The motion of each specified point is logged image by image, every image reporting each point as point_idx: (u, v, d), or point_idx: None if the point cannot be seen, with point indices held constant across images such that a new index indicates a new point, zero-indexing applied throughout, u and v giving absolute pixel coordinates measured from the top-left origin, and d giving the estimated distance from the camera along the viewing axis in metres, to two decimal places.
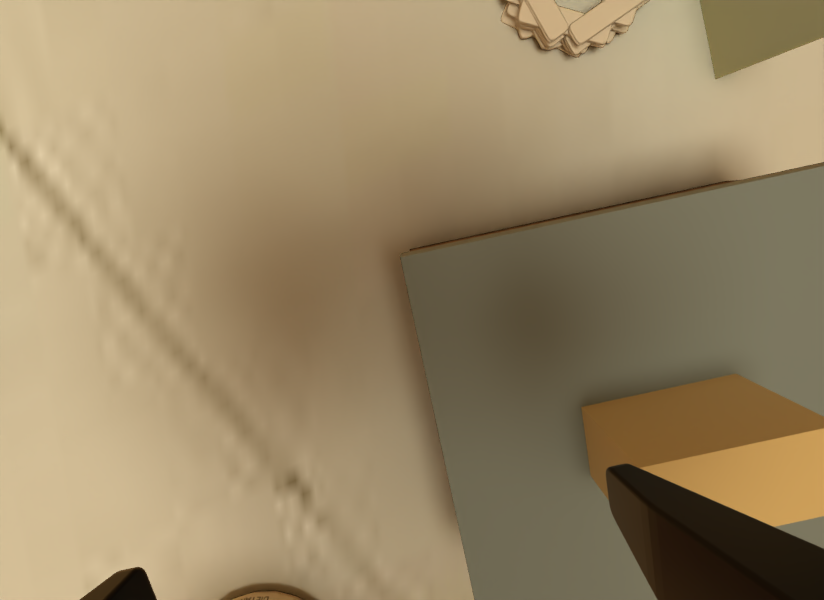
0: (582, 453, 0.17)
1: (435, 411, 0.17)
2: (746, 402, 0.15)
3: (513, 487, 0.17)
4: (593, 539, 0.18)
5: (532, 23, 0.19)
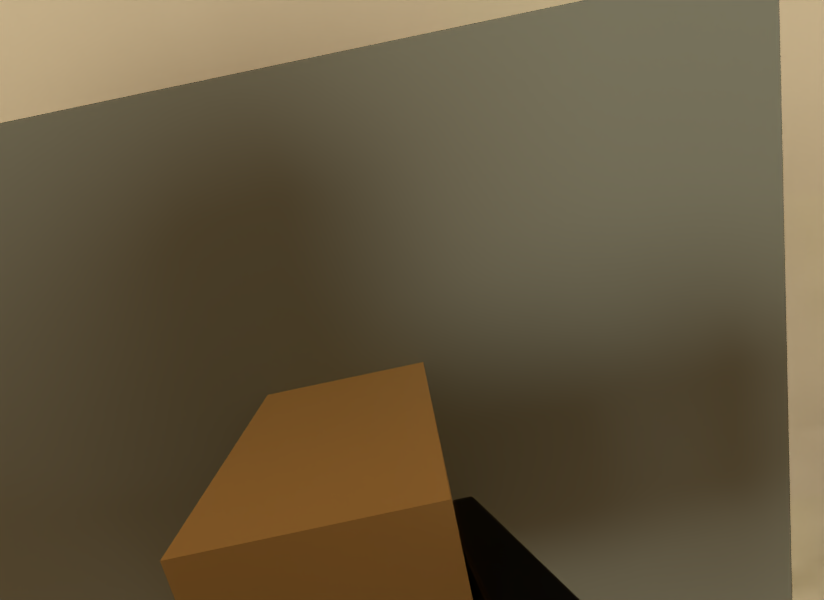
0: None
1: None
2: None
3: None
4: (609, 597, 0.10)
5: None
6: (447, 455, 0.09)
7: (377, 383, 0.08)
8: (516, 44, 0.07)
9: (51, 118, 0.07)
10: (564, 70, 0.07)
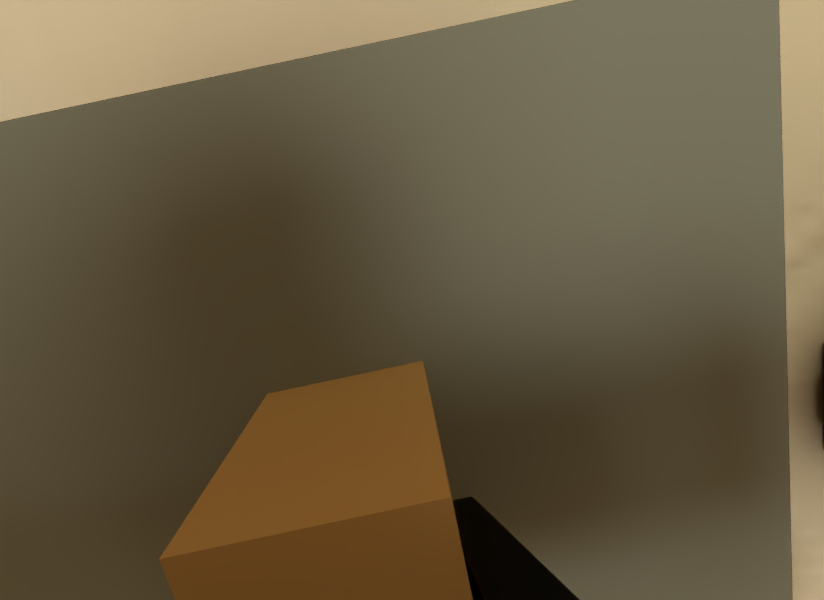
0: None
1: None
2: None
3: None
4: (609, 596, 0.10)
5: None
6: (447, 453, 0.09)
7: (377, 382, 0.08)
8: (515, 42, 0.07)
9: (50, 117, 0.07)
10: (564, 68, 0.07)
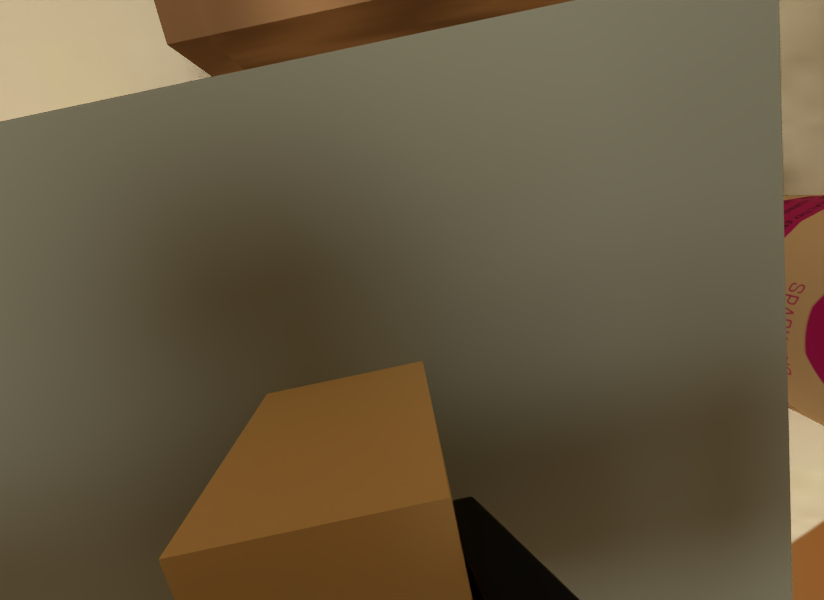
0: None
1: None
2: None
3: None
4: (609, 597, 0.10)
5: None
6: (447, 454, 0.09)
7: (376, 382, 0.08)
8: (515, 42, 0.07)
9: (50, 117, 0.07)
10: (564, 68, 0.07)
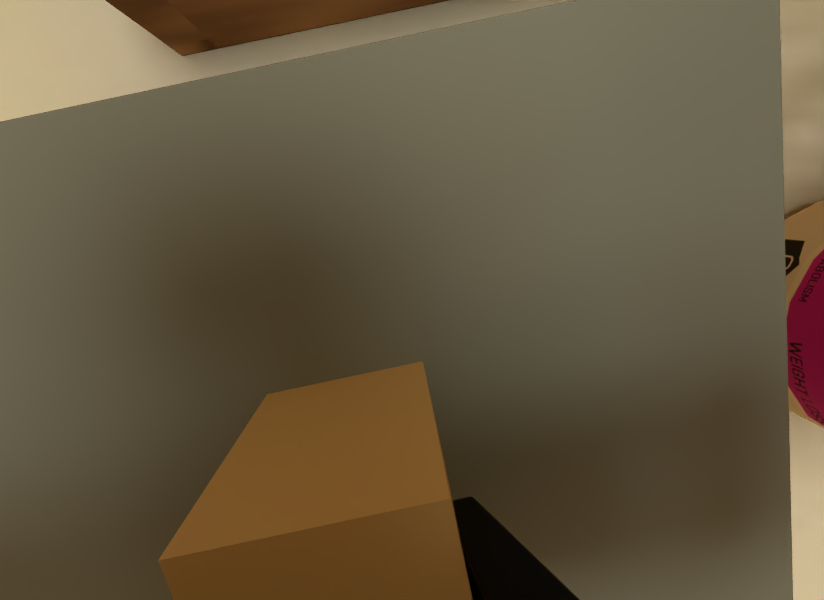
0: None
1: None
2: None
3: None
4: (609, 597, 0.10)
5: None
6: (447, 454, 0.09)
7: (377, 382, 0.08)
8: (516, 42, 0.07)
9: (50, 117, 0.07)
10: (564, 68, 0.07)
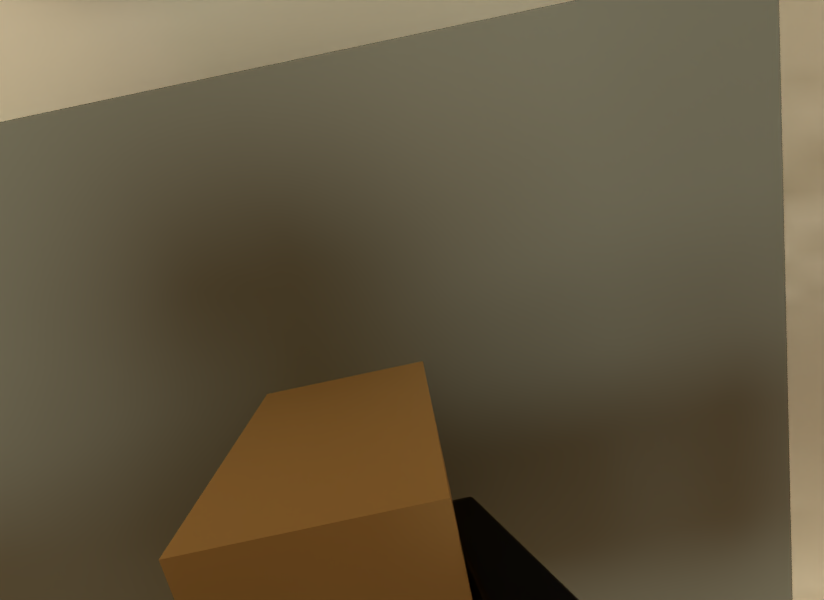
0: None
1: None
2: None
3: None
4: (609, 597, 0.10)
5: None
6: (447, 454, 0.09)
7: (376, 382, 0.08)
8: (515, 42, 0.07)
9: (50, 117, 0.07)
10: (564, 68, 0.07)
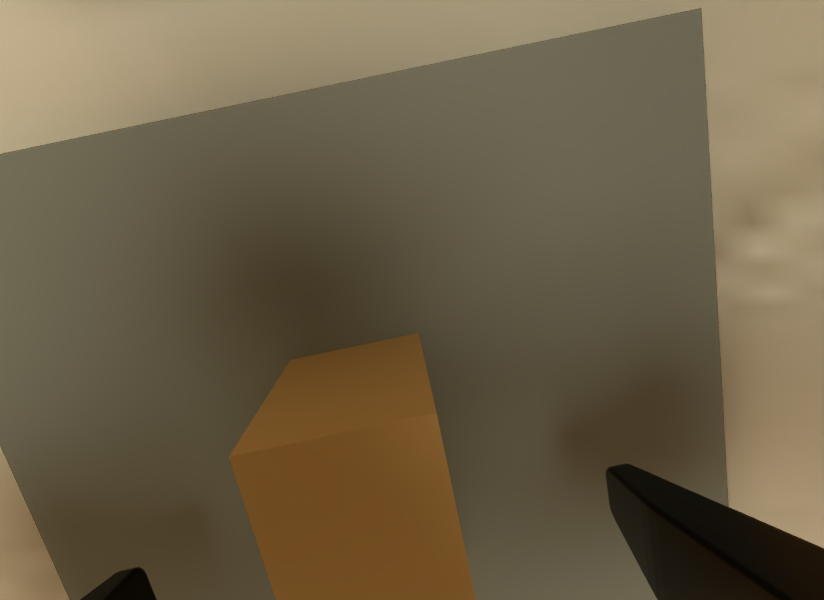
0: None
1: None
2: None
3: None
4: (575, 534, 0.12)
5: None
6: (438, 411, 0.11)
7: (381, 348, 0.10)
8: (492, 75, 0.09)
9: (120, 133, 0.09)
10: (531, 95, 0.09)
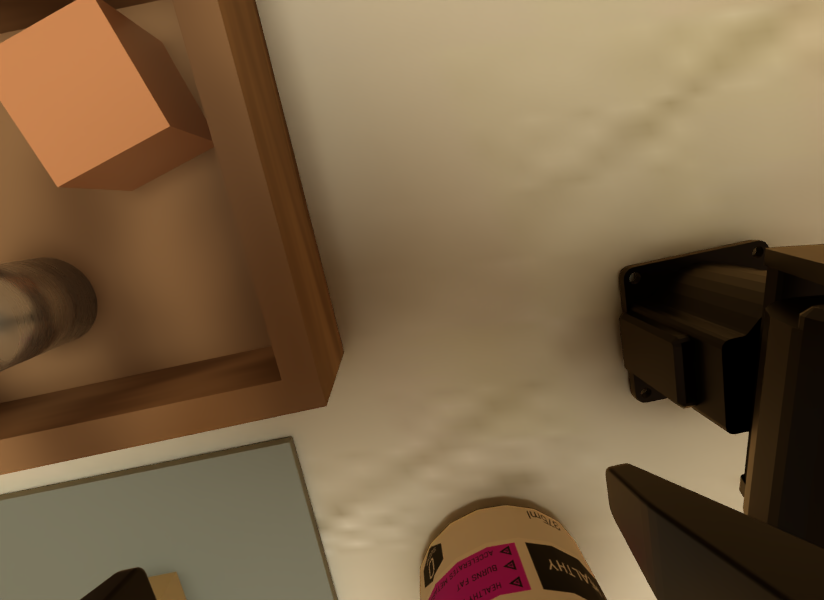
0: None
1: None
2: None
3: None
4: None
5: None
6: None
7: (152, 585, 0.21)
8: (198, 469, 0.21)
9: (31, 496, 0.20)
10: (217, 476, 0.21)
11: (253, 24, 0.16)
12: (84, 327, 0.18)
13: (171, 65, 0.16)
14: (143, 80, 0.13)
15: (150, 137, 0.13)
